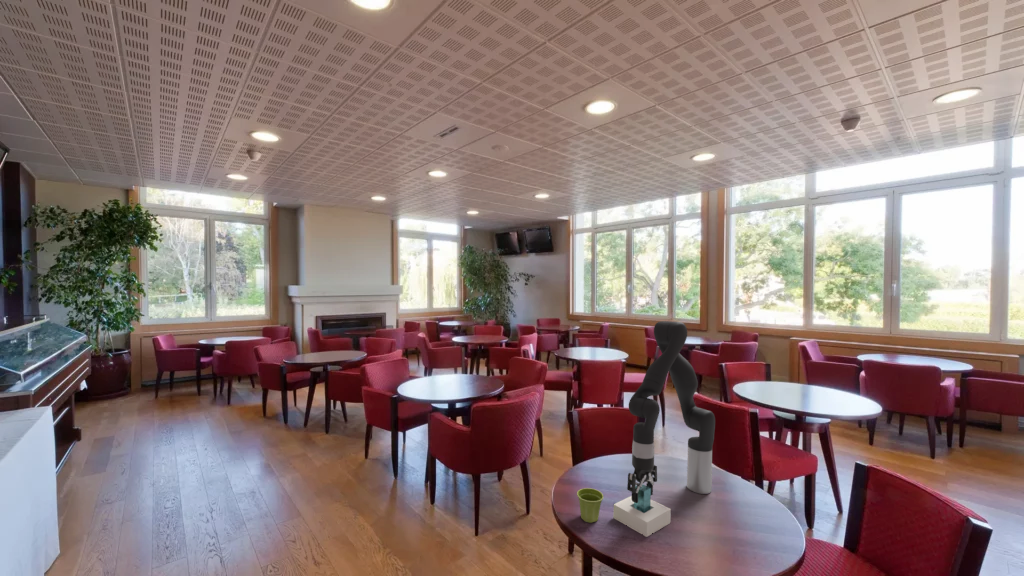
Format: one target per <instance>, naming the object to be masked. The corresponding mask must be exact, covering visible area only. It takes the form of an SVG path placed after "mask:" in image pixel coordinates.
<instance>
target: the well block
mask: <svg viewBox="0 0 1024 576" xmlns="http://www.w3.org/2000/svg"><path fill="white" fill-rule="evenodd" d="M671 511H672V509H671V508H670V507H667V506H665V505H663V504H661V503H659V502H658V501H655V500H653V499H651V503H650V510H649V511H647V512H645V513H643V512H641V511H639V510H637V509H635V508H634V502H633V501H632V495H629V496H628V497H626V498H624V499H622V500H620V501H617V502H616V503H614V504H613V515H612V516H613V519H614V520H616V521H618V522H620V523H621V524H623V525H625V526H626V525H627V527H628V528H630V529H632V530H634V531H636V532H637V533H639V534H641V535H642V534H643V535H642V536H644V537H645V538H648V537H649V536H651V535H653V534H655V532H658V531H659V530H660V529H662V528H664V527H666V526H667V525H669V524H670V523H671V519H672V517H671V516H672V515H671V513H672V512H671ZM652 533H653V534H652Z"/></svg>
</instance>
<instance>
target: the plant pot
mask: <svg viewBox="0 0 1024 576" xmlns="http://www.w3.org/2000/svg"><path fill="white" fill-rule="evenodd" d="M576 495H577V498H578V501H579V509H580V510H579V512H580V517H581V518H580V519H582V520H583V521H584V522H586V523H589V524H590V523H591V524H592V523H594V522H595V523H596V522H598V520H599V517H600V510H601V504H602V501H603V500H604V494H603V492H602V491H600V490H598V489H596V488H591V487H589V488H588V487H585V488H581V489H578V490H577V492H576Z"/></svg>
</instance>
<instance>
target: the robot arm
mask: <svg viewBox="0 0 1024 576" xmlns="http://www.w3.org/2000/svg"><path fill="white" fill-rule="evenodd" d="M653 336H654V340H655V342H656V344H657V346H658V349H659V350H660V353H661V354H660V355H659V357H657V359H655V360H654V361H653V362H652V363H651V364H650V365H649V367H648V368H647V370H646V371H645V375H644V377H643V380H642V382H641V384H640V386H639V387H638V388H637V389H636V391H635V392H634V394H633V395H632V396H631V397H630V399H629V401H628V410H629V412H630V414H631V415H632V416H635V417H639V418H643V419H645V421H644V422H636V423H635V424H633V435H632V436H633V437H632V444H631V445H632V446H631V448H632V449H631V451H632V453H631V466H632V467H633V469H634V470H633V471H634V472H633V473H631V472H629V473H628V474H627V487H626V488H627V491H629V492H631V496H632V501H633V502H635V503H638V491H639V488H640V487H642V484H643V485H644V483H646V485H645V486H648V487H650V488H651V496H652V495H654V494H653V492H654V485H655V483H657V482H658V466H657V465H655V441H654V439H655V437H654V435H655V429H656V425H657V421H658V418H659V415H660V412H661V408H660V403H659V402H657V400H655V399H652V398H649V397H652V396H653V397H654V396H659V395H661V392H662V390H663V387H664V384H665V382H666V379H667V376H668V374H670V378H671V381H672V384H673V387H674V389H675V392H676V395H677V398H678V402H679V406H680V409H681V414H682V417H683V418H682V419H683V421H684V423H685V426H686V427H687V428H688V429H692V430H694V431H697V432H699V433H698V434H699V435H698V436H692V437H689V438H688V439H687V463H686V464H687V466H686V468H687V470H686V471H687V473H686V487H687V489H688V490H689V491H691V492H693V493H695V494H700V495H701V494H702V495H707V494H710V493H711V492H712V487H713V486H712V484H713V482H712V481H713V445H714V440H715V430H716V417H715V413H713V411H711V410H707V409H705V408H701V407H698V406H696V403H695V400H694V396H695V393H696V391H697V389H698V385H699V382H698V379H697V378H698V377H697V375H696V371H695V369H694V367H693V366H692V364H691V363H690V362H689V360H687V359H686V358H685V357H684V356H683V355H682V354H681V353H680V352H681V351H682V349H683V347H684V346H685V343H686V341H687V337H688V329H687V326H686V324H685V323H684V322H682V321H672V320H671V321H670V320H669V321H668V320H663V321H661V320H660V321H658V322H656V323H655V325H654V327H653ZM635 486H637V487H636V489H635Z"/></svg>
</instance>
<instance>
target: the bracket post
mask: <svg viewBox="0 0 1024 576" xmlns="http://www.w3.org/2000/svg"><path fill="white" fill-rule="evenodd" d="M636 487H637V485H635V489H636ZM651 496H652V495H651V488H650V487H648V486H646V485H645V484H644V483H643V484H642V487H640V488H639V491H638V503H635V502H634V508H635V509H637V510H639V511H641V512H643V513H645V512H647V511H649V510H650V503H651V500H652V499H651V498H652V497H651Z"/></svg>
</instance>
